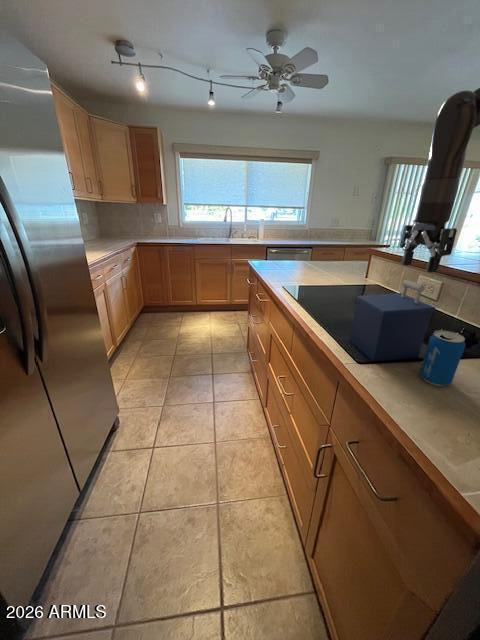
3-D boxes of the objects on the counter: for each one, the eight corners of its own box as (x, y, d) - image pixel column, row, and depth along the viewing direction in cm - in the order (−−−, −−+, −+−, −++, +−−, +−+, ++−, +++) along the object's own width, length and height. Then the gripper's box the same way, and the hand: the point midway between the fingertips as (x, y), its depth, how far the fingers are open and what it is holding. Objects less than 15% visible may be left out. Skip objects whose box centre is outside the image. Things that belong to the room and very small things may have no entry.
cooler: (389, 336, 84) (398, 296, 79) (418, 357, 73) (431, 311, 67) (349, 340, 83) (356, 299, 77) (373, 361, 71) (383, 315, 66)
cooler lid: (401, 295, 79) (405, 276, 76) (434, 311, 67) (441, 288, 65) (356, 298, 77) (359, 279, 75) (383, 315, 66) (388, 292, 63)
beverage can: (412, 374, 66) (424, 332, 61) (431, 369, 67) (445, 327, 62) (437, 390, 60) (452, 344, 55) (457, 384, 62) (474, 339, 57)
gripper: (477, 199, 56) (454, 274, 63) (426, 201, 69) (411, 262, 76) (446, 200, 55) (426, 275, 62) (400, 201, 68) (387, 263, 75)
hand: (417, 268), depth 69 cm, fingers open, 8 cm apart
